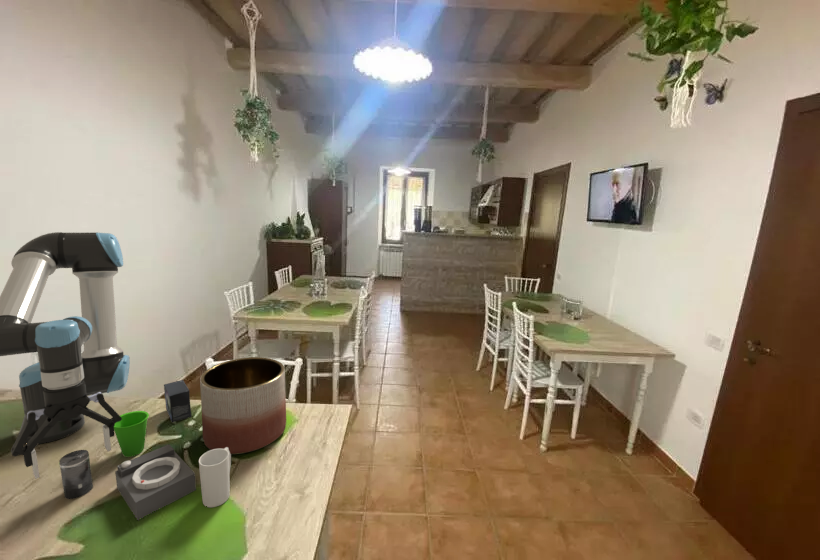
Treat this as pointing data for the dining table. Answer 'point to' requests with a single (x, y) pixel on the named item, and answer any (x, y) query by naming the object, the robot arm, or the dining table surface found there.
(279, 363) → the planter
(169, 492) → the camera body
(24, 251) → the robot arm
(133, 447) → the cup
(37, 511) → the dining table surface
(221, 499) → the mug
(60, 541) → the dining table surface
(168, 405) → the small box
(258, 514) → the dining table surface
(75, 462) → the lens
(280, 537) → the dining table surface
